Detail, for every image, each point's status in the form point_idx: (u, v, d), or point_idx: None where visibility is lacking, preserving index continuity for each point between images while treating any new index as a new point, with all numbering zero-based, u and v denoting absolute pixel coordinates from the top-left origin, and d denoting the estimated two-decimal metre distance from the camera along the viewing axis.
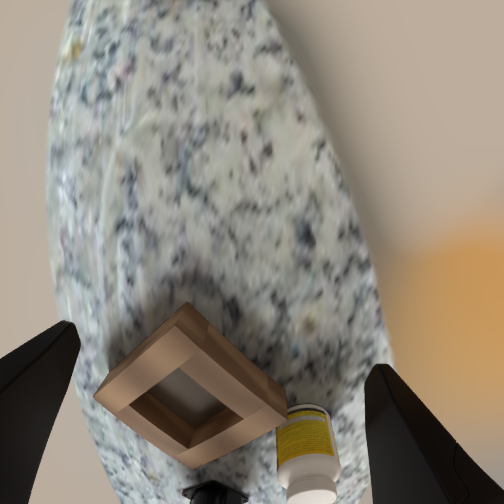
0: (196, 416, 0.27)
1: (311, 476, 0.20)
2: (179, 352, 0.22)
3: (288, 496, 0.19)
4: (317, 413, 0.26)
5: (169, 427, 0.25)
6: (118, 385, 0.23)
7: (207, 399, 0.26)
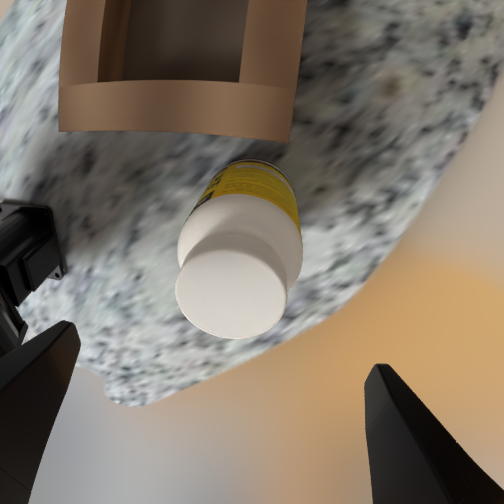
0: (147, 64, 0.15)
1: (268, 247, 0.12)
2: None
3: (204, 249, 0.10)
4: (294, 195, 0.18)
5: (109, 36, 0.12)
6: None
7: (193, 48, 0.14)
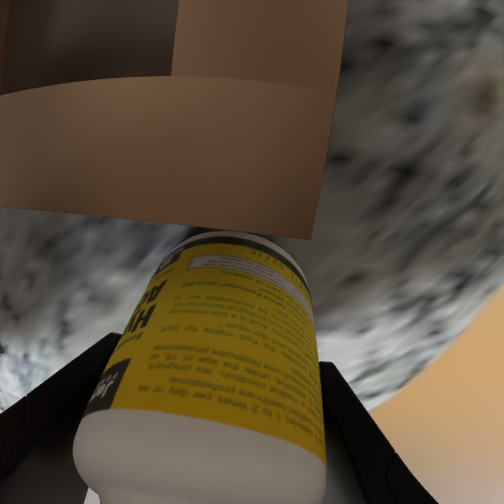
0: (33, 61, 0.06)
1: None
2: None
3: None
4: (310, 304, 0.09)
5: None
6: None
7: (106, 16, 0.06)
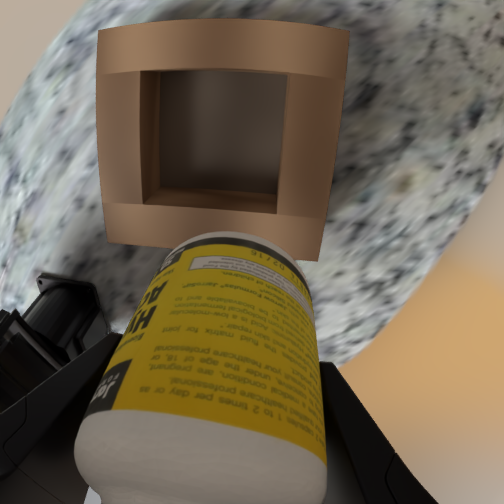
0: (183, 172, 0.18)
1: None
2: (315, 58, 0.12)
3: None
4: (311, 304, 0.09)
5: (146, 153, 0.16)
6: (166, 33, 0.12)
7: (226, 159, 0.18)
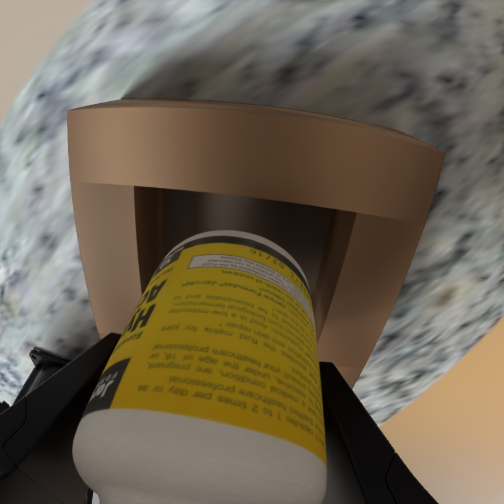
0: None
1: None
2: (394, 193, 0.09)
3: None
4: (311, 303, 0.09)
5: None
6: (171, 130, 0.09)
7: None
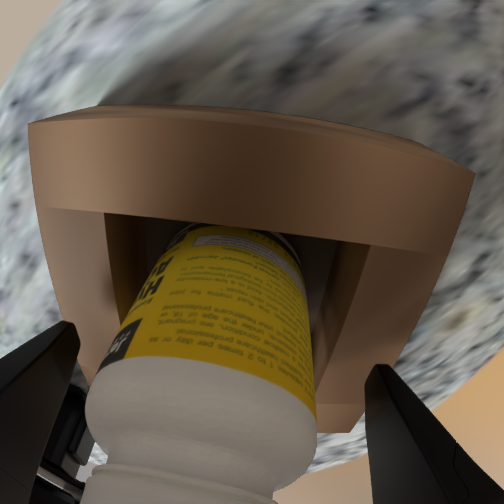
0: None
1: (245, 488, 0.04)
2: (415, 222, 0.07)
3: None
4: (303, 281, 0.10)
5: None
6: (143, 145, 0.07)
7: None
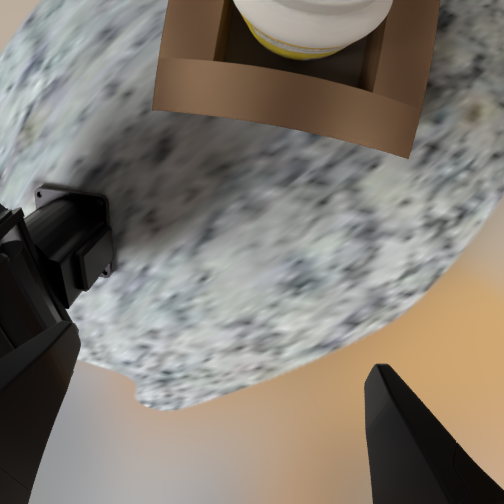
0: (255, 52, 0.14)
1: None
2: None
3: None
4: None
5: (225, 13, 0.11)
6: None
7: None
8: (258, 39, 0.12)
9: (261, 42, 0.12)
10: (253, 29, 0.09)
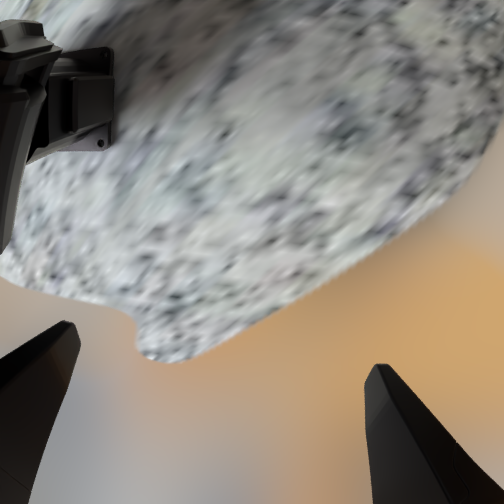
0: None
1: None
2: None
3: None
4: None
5: None
6: None
7: None
8: None
9: None
10: None
